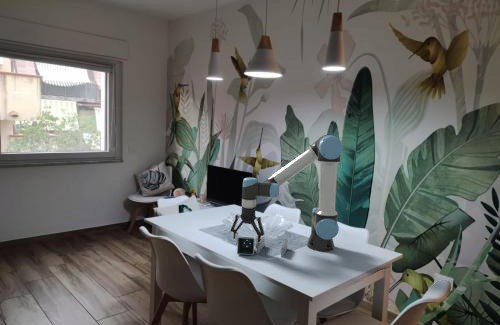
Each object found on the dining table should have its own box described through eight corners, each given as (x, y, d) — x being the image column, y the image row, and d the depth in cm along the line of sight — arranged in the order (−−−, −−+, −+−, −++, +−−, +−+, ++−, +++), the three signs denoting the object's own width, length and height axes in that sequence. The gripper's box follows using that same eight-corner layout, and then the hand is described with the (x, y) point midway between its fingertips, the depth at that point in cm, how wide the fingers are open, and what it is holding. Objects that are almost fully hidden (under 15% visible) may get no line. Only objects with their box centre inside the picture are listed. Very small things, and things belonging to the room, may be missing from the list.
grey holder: (287, 248, 201) (287, 240, 200) (283, 257, 187) (283, 248, 187) (262, 245, 204) (262, 237, 204) (256, 254, 191) (256, 244, 190)
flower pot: (254, 252, 196) (253, 255, 187) (238, 251, 196) (236, 254, 187) (255, 235, 196) (254, 238, 187) (239, 234, 197) (237, 237, 188)
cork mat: (257, 249, 199) (257, 248, 198) (253, 254, 190) (253, 253, 190) (241, 247, 201) (241, 246, 201) (236, 252, 192) (237, 251, 192)
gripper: (271, 207, 193) (269, 246, 196) (229, 202, 199) (228, 240, 202) (268, 210, 186) (266, 251, 189) (225, 205, 192) (223, 245, 194)
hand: (246, 246), depth 195 cm, fingers open, 11 cm apart
